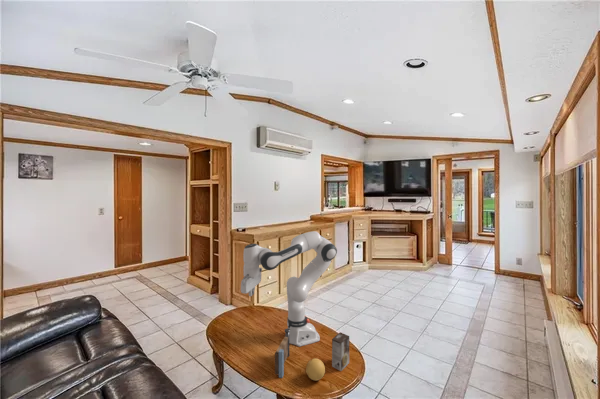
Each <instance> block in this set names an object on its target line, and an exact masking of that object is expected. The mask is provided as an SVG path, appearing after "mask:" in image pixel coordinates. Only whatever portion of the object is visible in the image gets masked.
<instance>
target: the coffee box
mask: <svg viewBox="0 0 600 399" xmlns="http://www.w3.org/2000/svg"><path fill="white" fill-rule="evenodd" d="M348 364H350V335H347V334H345V333H343V332H339V333H337V334H336V335H335V336H333V337H332V339H331V367H332V368H334V369H336V370H338V371H340V372H342V371H343V370H344V369H345V368H346V367H347V366H349V365H348Z"/></svg>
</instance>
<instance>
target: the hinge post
mask: <svg viewBox="0 0 600 399" xmlns="http://www.w3.org/2000/svg"><path fill="white" fill-rule="evenodd" d="M284 332H285V336H284V337H288V357H287V358H289V357H290V343H289V332H290V329H288V327H287V328H285V329H284Z"/></svg>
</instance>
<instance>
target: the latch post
mask: <svg viewBox="0 0 600 399" xmlns="http://www.w3.org/2000/svg"><path fill="white" fill-rule="evenodd" d="M284 374H285V362H284V350H282V349H280V350H279V375H278V378H280V379H283V378H284Z"/></svg>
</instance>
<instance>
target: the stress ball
mask: <svg viewBox="0 0 600 399" xmlns="http://www.w3.org/2000/svg"><path fill="white" fill-rule="evenodd" d="M307 362H308V363H306V370H305V373H306V375H307V377H308V378H309V379H311V381H319V380H321V379H323V377H324V375H325V374H326V368H325V364H324V362H323V361H322V360H321V359H319V358H315V357H314V358H312V359H310V360H309V361H307Z"/></svg>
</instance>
